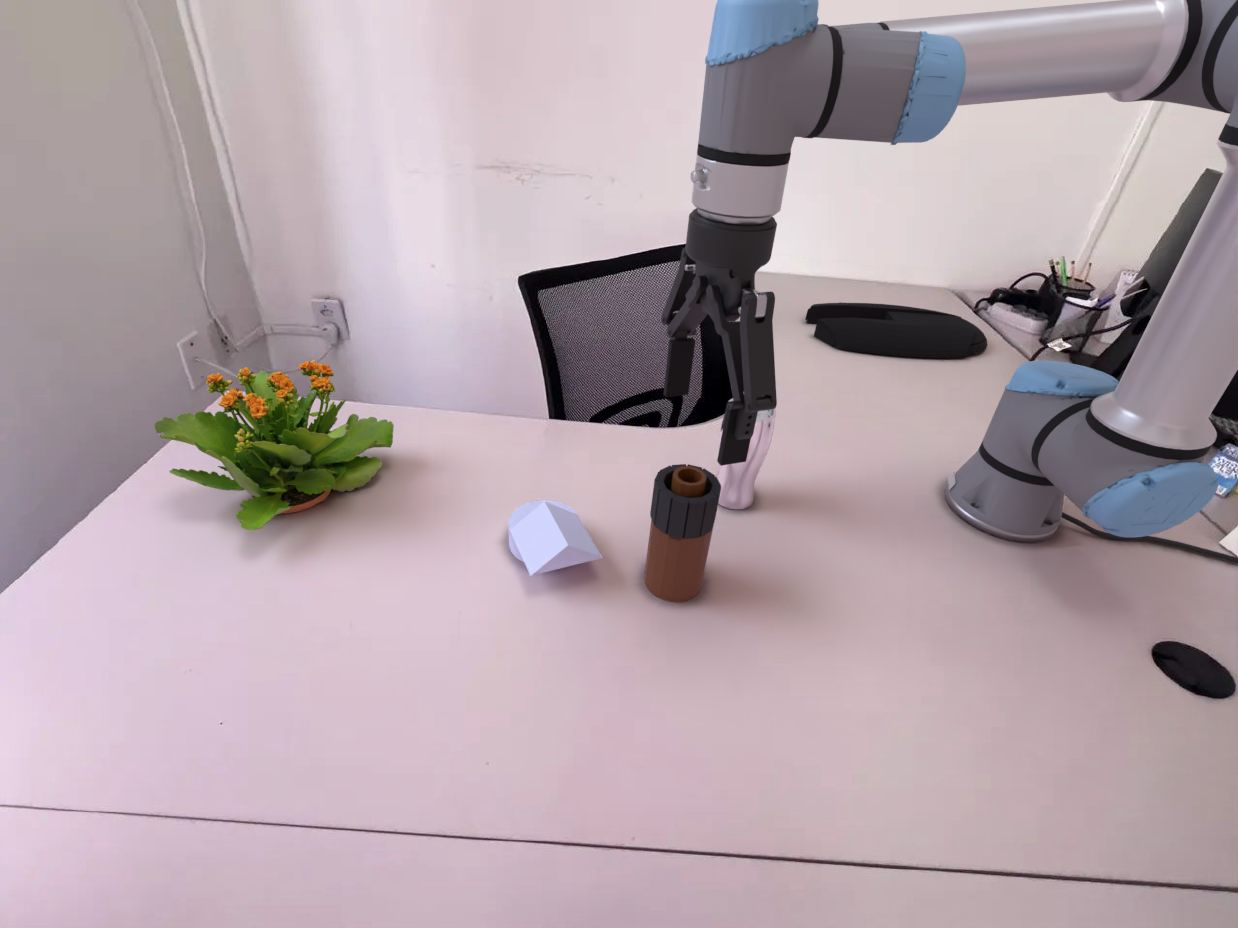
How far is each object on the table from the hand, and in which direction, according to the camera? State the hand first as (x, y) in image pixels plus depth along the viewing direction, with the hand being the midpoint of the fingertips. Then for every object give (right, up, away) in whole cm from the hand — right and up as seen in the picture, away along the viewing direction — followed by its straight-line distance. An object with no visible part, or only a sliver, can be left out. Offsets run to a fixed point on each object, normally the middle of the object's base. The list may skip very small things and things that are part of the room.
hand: (701, 425), depth 67 cm
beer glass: (+8, -9, +28) cm, 30 cm away
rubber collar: (-1, -10, +7) cm, 12 cm away
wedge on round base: (-17, -15, +15) cm, 28 cm away
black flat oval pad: (+55, +26, +83) cm, 103 cm away
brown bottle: (-2, -18, +13) cm, 22 cm away
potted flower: (-53, -8, +21) cm, 58 cm away
